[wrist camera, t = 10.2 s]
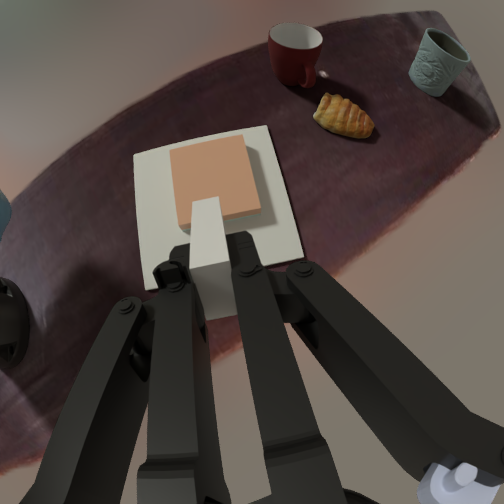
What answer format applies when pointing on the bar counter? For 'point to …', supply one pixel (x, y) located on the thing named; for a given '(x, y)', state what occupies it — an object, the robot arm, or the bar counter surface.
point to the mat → (260, 227)
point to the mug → (294, 53)
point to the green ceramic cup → (437, 62)
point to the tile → (214, 179)
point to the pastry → (343, 117)
